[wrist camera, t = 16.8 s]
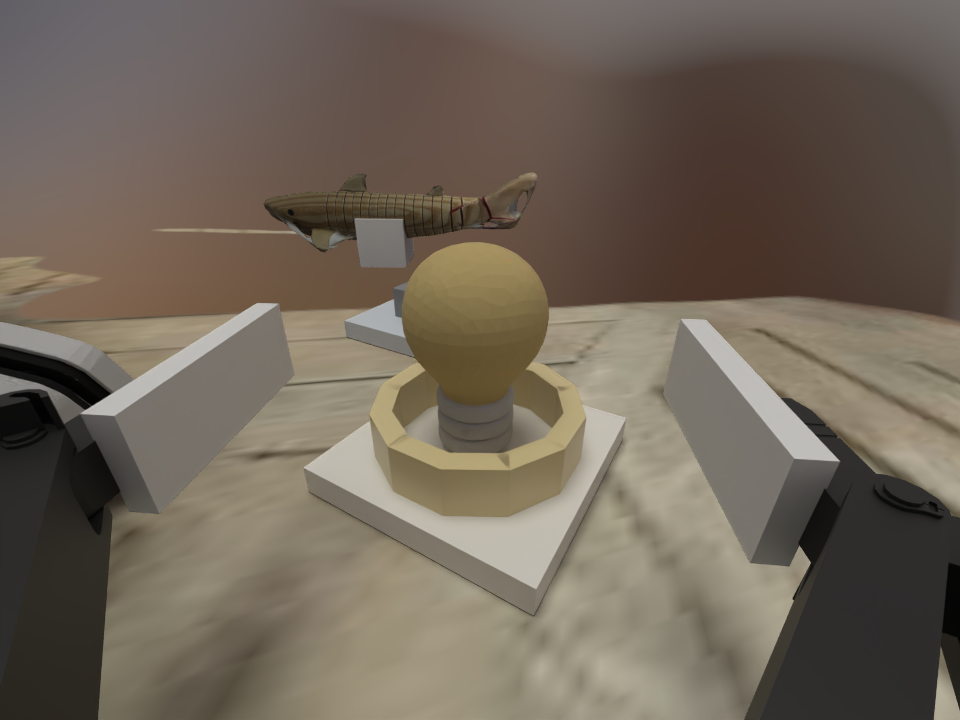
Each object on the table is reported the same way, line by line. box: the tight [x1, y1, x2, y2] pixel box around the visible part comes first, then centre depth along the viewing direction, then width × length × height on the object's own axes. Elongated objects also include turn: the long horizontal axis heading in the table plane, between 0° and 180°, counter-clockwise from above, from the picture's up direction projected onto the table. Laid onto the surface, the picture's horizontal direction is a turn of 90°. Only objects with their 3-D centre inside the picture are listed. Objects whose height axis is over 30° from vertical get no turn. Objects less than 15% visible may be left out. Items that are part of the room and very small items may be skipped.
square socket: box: [344, 282, 415, 357], centre depth 38 cm, size 12×12×4 cm
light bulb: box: [402, 242, 549, 453], centre depth 20 cm, size 6×6×10 cm
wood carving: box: [264, 173, 537, 267], centre depth 57 cm, size 9×35×11 cm, turn 88°
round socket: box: [304, 362, 626, 616], centre depth 22 cm, size 12×12×4 cm
